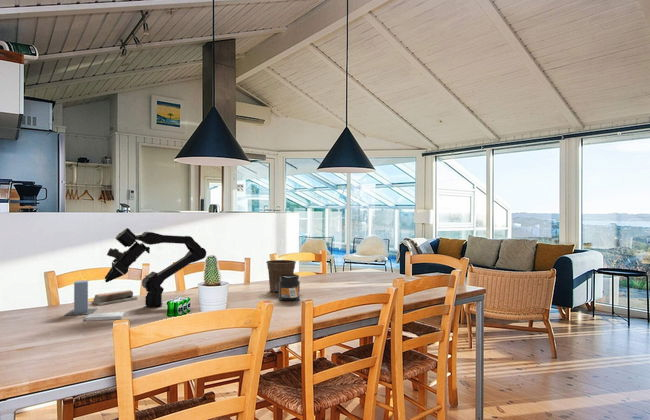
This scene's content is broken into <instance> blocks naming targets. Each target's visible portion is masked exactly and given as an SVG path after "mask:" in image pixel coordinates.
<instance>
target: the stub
mask: <svg viewBox="0 0 650 420" xmlns="http://www.w3.org/2000/svg"><path fill="white" fill-rule="evenodd" d="M73 284H74V285H73V298H74V299H73V301H74V302H73V304H74V305H73V310H74V313H84V312H88V309H89V280H85V279H84V280H74V282H73Z"/></svg>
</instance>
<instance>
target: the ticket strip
mask: <svg viewBox="0 0 650 420" xmlns="http://www.w3.org/2000/svg"><path fill="white" fill-rule="evenodd" d="M125 316H126V311H118V312H117V311H116V312H98V313H97V312H96V313H94V312H93V313H92V314H88V315H85V316H84V317H83V321H86V322H87V321H106V320H107V321H108V320H121V318H122V319H123V318H124V317H125Z"/></svg>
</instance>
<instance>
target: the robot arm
mask: <svg viewBox="0 0 650 420" xmlns="http://www.w3.org/2000/svg"><path fill="white" fill-rule="evenodd" d="M114 239H115V240H116V241H118V243H120V244H121V245H122V246H123V247H124V248H127V247H128V249H127V250H124V251H123V252H122V251H119V249H117V248H111V247H110V248H109V250H108V251H107V254H106V256H108V257H112V258H114V259H113V260H112V262H111V268H110V269H109V271H108V272H107V274H106V275H105V276H104V282H105V283H109V282H112V281H113V280H115V279H118V278H120V277H123V276H126V274H128V272H129V268H130V266H132V265H133V263H135V262H137V259H138V258H139V257H141V256H142V255H143V254H144V253H145V252H146V253H147V254H150V253H151V252H150V251H151V250H150V248H151V247H150V245H151V246H153V245H159V244H183V245H185V247H186V248H187V250H188V251H187V253H186V254H185V255H184V256H183V257H181V258H179V259H178V260H177V261H175V262H174V263H172V264H170V265H169V266H167V267H165V268H164V269H162V270H161V271H158V272H155V271H151V272H150V273H148V274H146V275H144V277H143V279H142V280H141V285H142V287H143V288H144V289H145V291H146V296H145V297H144V298H145V301H144V302H145V304H144V305H145V308H158V307H159V308H160V307H162V306H163V304H164V303H163V292H164V290H165V288H163V286H161V285H162V284H163V283H164V282H165V281H166V280H167V279H169V278H170V277H171V276H173V275H174V274H176V273H177V272H179V271H181V270H182V269H184V268H186V267H187V266H188V265H190V264H193V263H196V262H198V261H201V260H204V259H205V258H206V256H207V251H206V249H205V248H204V247H202V246H201V245H200V244H199V243H198V242H197V241H195V239H194V238H193V237H192V236H190V235H168V234H160V233H156V232H154V231H153V232H152V231H144V232H143V233H141V234H137V235H136V234H135V233H134V232H132V230H131V229H130V228H128V227H127V228H125V229H123V230H122V231H120V232H119V233H118V234H117V235H116V237H115V238H114ZM139 241H140V242H141V243H139ZM146 245H149V246H146Z"/></svg>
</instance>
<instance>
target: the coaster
mask: <svg viewBox="0 0 650 420" xmlns="http://www.w3.org/2000/svg"><path fill="white" fill-rule="evenodd" d="M97 309H98V308H88V312H84V313H74V309H71V310H69V311H68V312H66V313H65V314H64V315H63V316H64V317H69V316H70V317H71V316H87V315H88V314H93V313H94V312H96V311H97Z"/></svg>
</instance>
